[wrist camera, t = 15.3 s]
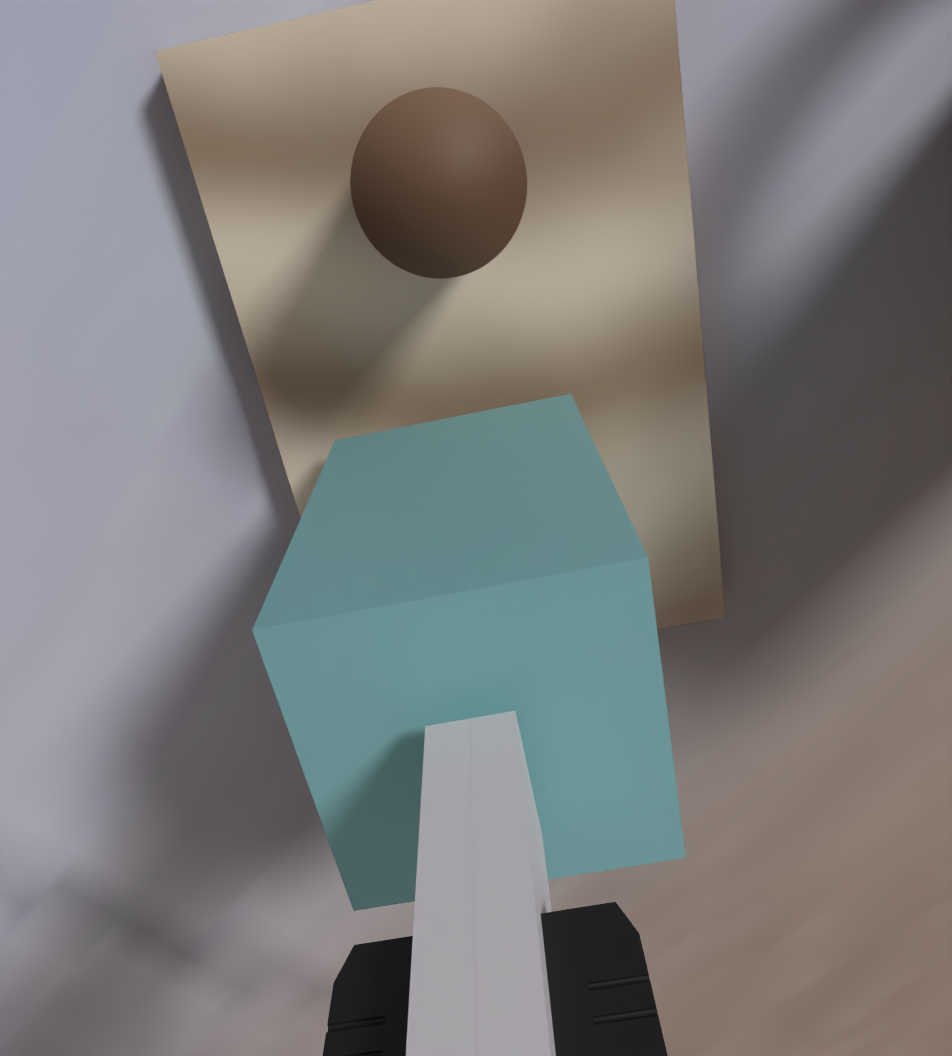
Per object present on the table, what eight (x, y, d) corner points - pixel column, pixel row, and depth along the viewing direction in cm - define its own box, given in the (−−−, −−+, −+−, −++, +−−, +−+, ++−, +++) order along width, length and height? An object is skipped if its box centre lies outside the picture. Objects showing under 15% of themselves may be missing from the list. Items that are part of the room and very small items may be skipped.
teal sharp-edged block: (334, 440, 22) (251, 630, 13) (570, 393, 22) (648, 557, 13) (391, 640, 25) (353, 911, 16) (602, 602, 24) (685, 857, 15)
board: (170, 56, 20) (-122, -44, 10) (657, -55, 19) (875, -286, 9) (356, 662, 28) (295, 959, 17) (714, 598, 27) (871, 870, 17)
